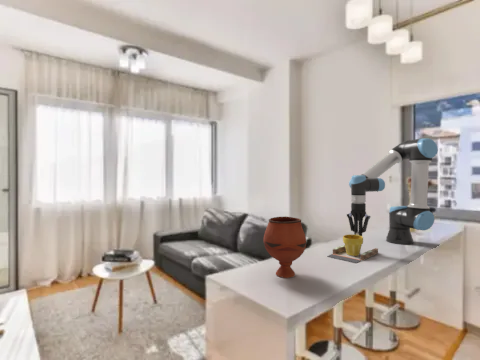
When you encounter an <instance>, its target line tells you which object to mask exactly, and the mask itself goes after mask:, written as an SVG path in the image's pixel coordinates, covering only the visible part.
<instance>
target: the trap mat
mask: <svg viewBox="0 0 480 360" xmlns="http://www.w3.org/2000/svg"><path fill="white" fill-rule="evenodd" d="M326 258H331V259H336V260H339V261H345V262H348V263H349V262H350V263H353V264H357V263H359V262H361V261H362V260H360V258H354V257H349V256H346V255H340V254H333V253H331V254H329V255H327V257H326Z"/></svg>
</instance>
